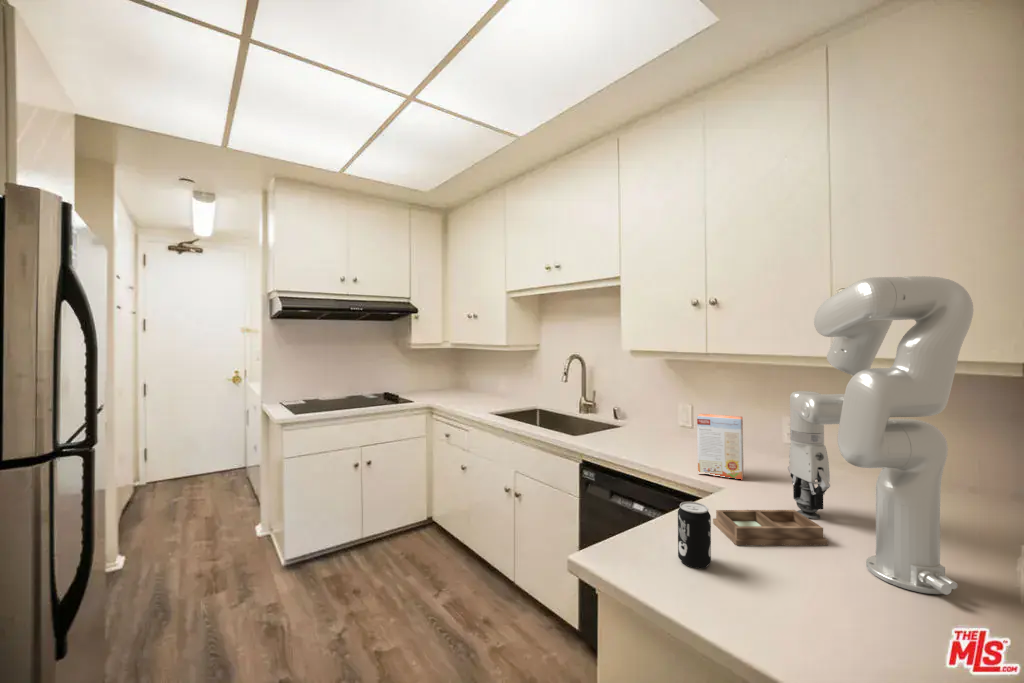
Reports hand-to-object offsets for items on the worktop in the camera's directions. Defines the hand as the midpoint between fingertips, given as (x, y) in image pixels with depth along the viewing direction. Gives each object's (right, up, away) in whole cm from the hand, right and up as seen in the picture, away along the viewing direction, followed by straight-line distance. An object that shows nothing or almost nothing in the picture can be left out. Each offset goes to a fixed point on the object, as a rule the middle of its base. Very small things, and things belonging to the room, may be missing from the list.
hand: (807, 503), depth 116 cm
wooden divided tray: (-17, -4, -10) cm, 20 cm away
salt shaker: (0, -3, 0) cm, 3 cm away
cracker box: (-7, -3, +34) cm, 34 cm away
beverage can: (-40, -4, -23) cm, 47 cm away
